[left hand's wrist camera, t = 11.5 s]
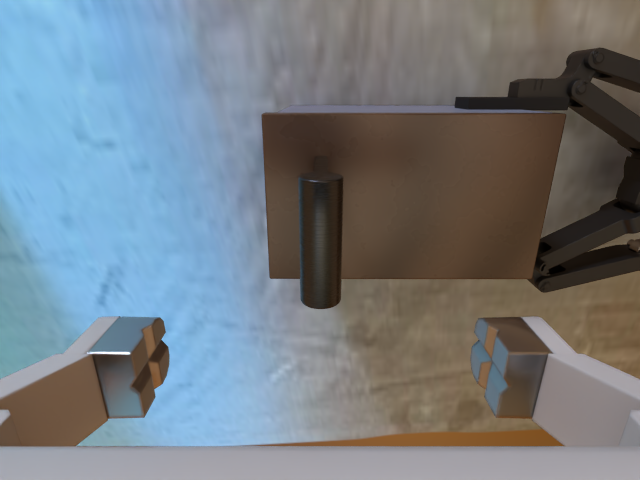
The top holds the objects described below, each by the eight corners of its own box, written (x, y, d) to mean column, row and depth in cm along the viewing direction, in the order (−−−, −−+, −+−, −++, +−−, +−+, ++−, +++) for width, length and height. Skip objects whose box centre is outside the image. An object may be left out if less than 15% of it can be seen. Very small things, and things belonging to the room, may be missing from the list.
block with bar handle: (271, 270, 26) (250, 349, 18) (264, 112, 22) (233, 124, 15) (522, 271, 26) (611, 350, 18) (554, 112, 22) (681, 124, 14)
